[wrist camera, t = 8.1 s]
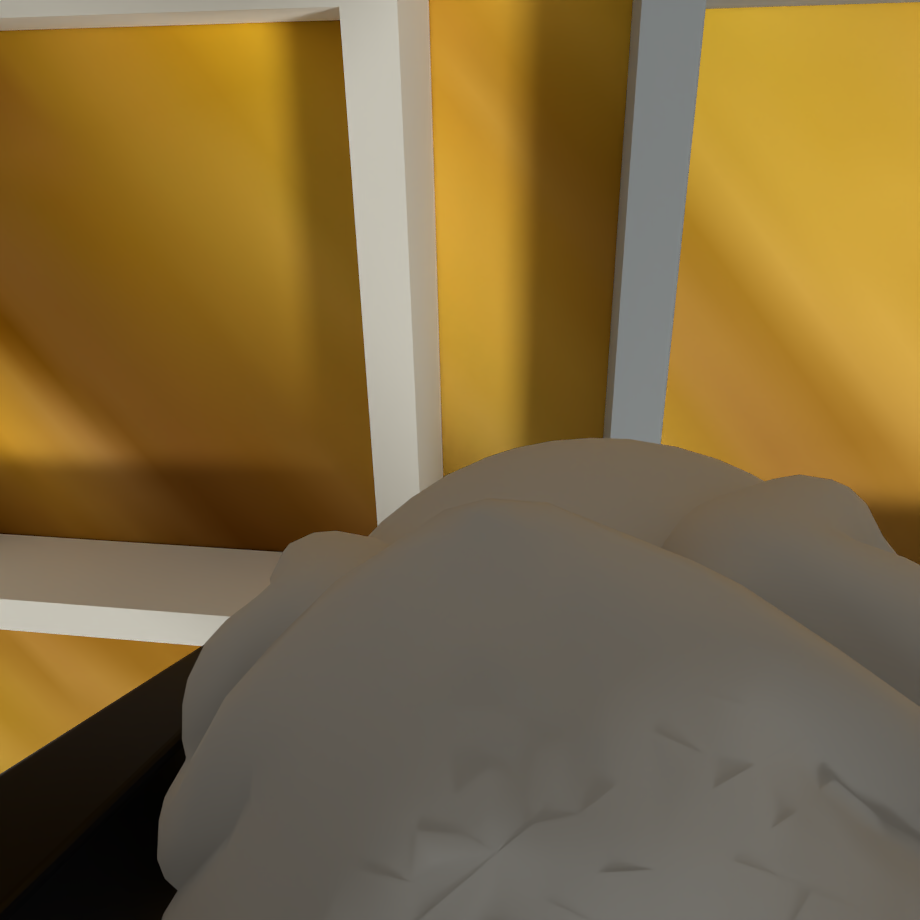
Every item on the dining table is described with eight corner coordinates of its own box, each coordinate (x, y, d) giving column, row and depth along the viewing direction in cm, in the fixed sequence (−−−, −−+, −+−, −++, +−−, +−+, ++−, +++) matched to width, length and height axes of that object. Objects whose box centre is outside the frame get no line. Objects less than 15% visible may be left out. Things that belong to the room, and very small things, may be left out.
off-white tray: (446, 593, 22) (427, 664, 19) (-40, 559, 24) (-118, 619, 21) (427, -42, 15) (394, -68, 13) (-240, -14, 17) (-390, -31, 15)
